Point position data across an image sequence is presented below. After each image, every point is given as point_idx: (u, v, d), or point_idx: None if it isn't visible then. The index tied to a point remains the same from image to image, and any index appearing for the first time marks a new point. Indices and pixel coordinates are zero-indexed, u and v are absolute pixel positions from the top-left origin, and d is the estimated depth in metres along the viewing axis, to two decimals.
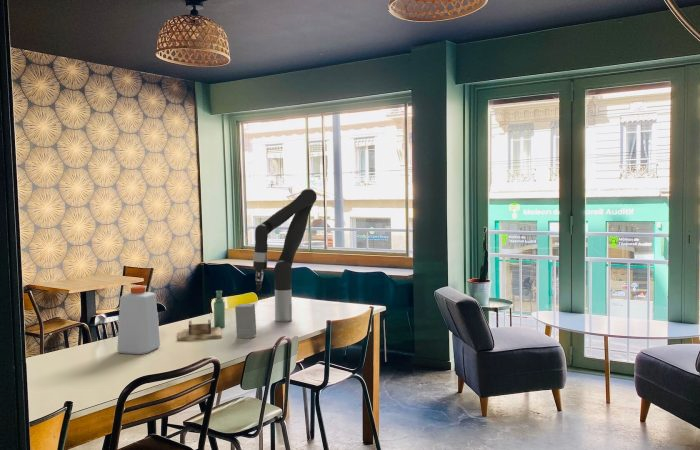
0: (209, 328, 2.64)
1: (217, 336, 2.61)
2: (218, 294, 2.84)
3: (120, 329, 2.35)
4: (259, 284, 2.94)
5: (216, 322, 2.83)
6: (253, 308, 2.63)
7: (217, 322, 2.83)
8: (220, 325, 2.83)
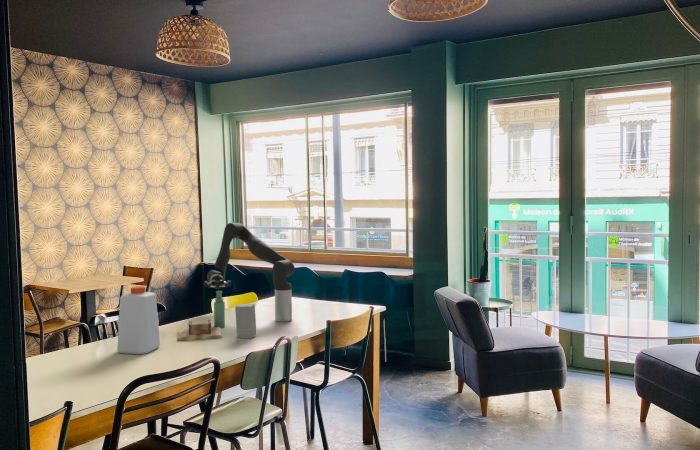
0: (209, 328, 2.64)
1: (217, 336, 2.61)
2: (218, 294, 2.84)
3: (120, 329, 2.35)
4: (207, 283, 2.97)
5: (216, 322, 2.83)
6: (253, 308, 2.63)
7: (217, 322, 2.83)
8: (220, 325, 2.83)
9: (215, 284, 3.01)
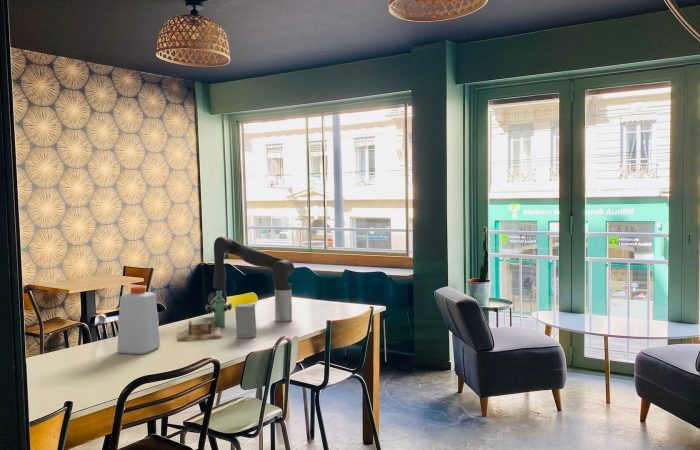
0: (209, 328, 2.64)
1: (217, 336, 2.61)
2: (218, 294, 2.84)
3: (120, 329, 2.35)
4: (211, 307, 2.85)
5: (216, 322, 2.83)
6: (253, 308, 2.63)
7: (217, 321, 2.83)
8: (220, 325, 2.83)
9: None
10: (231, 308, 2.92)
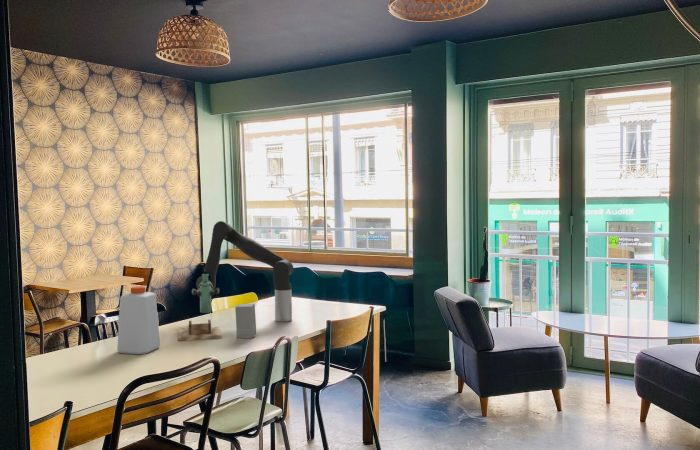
0: (209, 328, 2.64)
1: (217, 336, 2.61)
2: (204, 277, 2.72)
3: (120, 329, 2.35)
4: (196, 291, 2.74)
5: (202, 306, 2.72)
6: (253, 308, 2.63)
7: (203, 306, 2.71)
8: (206, 310, 2.72)
9: None
10: (218, 292, 2.81)
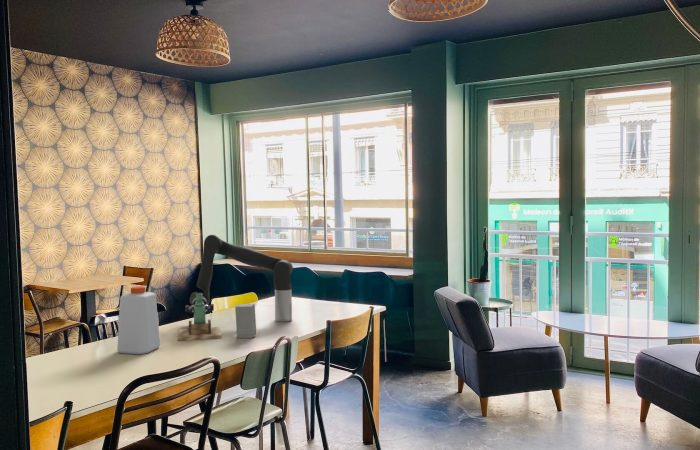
0: (209, 328, 2.64)
1: (217, 336, 2.61)
2: (198, 297, 2.66)
3: (120, 329, 2.35)
4: (189, 308, 2.68)
5: None
6: (253, 308, 2.63)
7: None
8: None
9: None
10: None
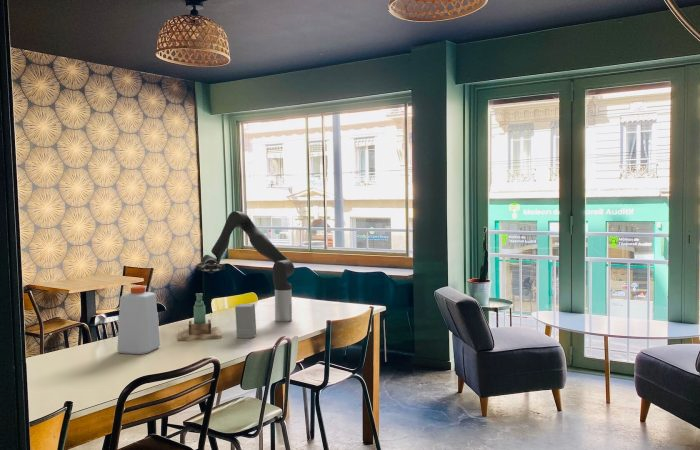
0: (209, 328, 2.64)
1: (217, 336, 2.61)
2: (198, 297, 2.66)
3: (120, 329, 2.35)
4: (201, 267, 2.92)
5: None
6: (253, 308, 2.63)
7: None
8: None
9: (209, 268, 2.96)
10: None
